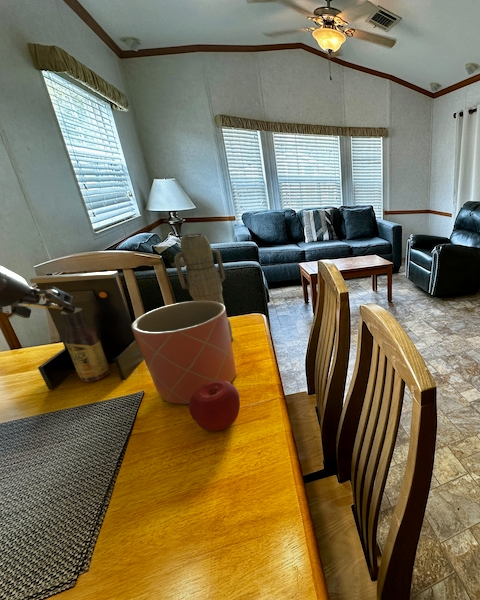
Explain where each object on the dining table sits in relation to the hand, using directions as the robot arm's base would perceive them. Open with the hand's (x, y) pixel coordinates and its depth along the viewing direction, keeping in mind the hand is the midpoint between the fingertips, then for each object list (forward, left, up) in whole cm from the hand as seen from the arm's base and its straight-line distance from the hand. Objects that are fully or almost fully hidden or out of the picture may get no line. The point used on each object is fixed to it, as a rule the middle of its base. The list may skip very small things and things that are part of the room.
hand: (50, 312), depth 76 cm
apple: (+13, -42, -22) cm, 49 cm away
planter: (+18, -23, -22) cm, 36 cm away
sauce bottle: (+4, +4, -22) cm, 22 cm away
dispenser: (+5, +5, -22) cm, 23 cm away
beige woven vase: (+33, -5, -22) cm, 40 cm away
